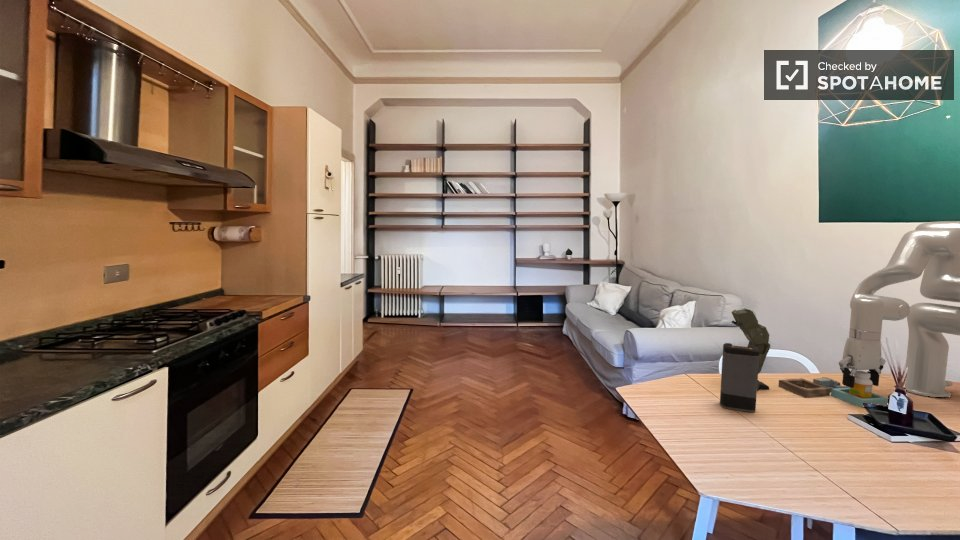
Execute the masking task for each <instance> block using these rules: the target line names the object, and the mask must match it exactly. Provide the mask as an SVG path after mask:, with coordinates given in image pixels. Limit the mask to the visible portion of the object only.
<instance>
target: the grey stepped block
mask: <svg viewBox="0 0 960 540" xmlns="http://www.w3.org/2000/svg"><path fill="white" fill-rule="evenodd" d="M812 379H813V380H812V382H813V383H816V384H819V385H821V386H824V387H837V382H838V380H836V379H832V378H829V377H826V376H822V377H820V378H812Z"/></svg>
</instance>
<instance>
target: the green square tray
mask: <svg viewBox="0 0 960 540" xmlns="http://www.w3.org/2000/svg"><path fill="white" fill-rule="evenodd" d="M849 390H850V387H848V388H834V389H831V392H830V397H833V398H836V399H839V400H841V401H844V402H846V403H848V404H852V405H854V406H856V407H859V408H862V409H864V408H863V403H872V404H879V405H887V403H888V399H889V400H890V397H889V398H888V397H886V396H883V395H879V394H877V393H874V392H872V397H871V398H866V399H862V398H859V397H857V396H854V395H851V394H849Z"/></svg>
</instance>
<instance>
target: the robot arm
mask: <svg viewBox="0 0 960 540" xmlns="http://www.w3.org/2000/svg"><path fill="white" fill-rule="evenodd" d="M921 276H922V277H921ZM919 277H921V278H922V279H921V281H920V286H919V293H920V295H921V296H922V297H924V298H926V299H930V300H933V301H934V300H935V301H942V302H950V303H960V220H952V221H951V220H944V221H938V220H937V221H929V222H923V223H919V224H918V225H917V226H916V227H915V229H913V230H909V231H907V232H906V233H904V234H903V235H902V237H901V239H900V241H899V242H898V244H897V246H896V247H895V250H894V252H893V253H892V255H891V257H890V260H889V261H888V263H887V264H886V266H885V267H883V268H882V269H879V270H877V271H875V272H873V273H872V274H870V275H869V276H867V277H865V278H864V279H863V280H862V281H861V282H860V283H859V284H858V285H857V287H856V288H855V291H853V292H854V293H853V294H852V296H851V299H850V302H849V307H850V321H849V331H848V337H847V339H846V340H845V344H844V348H843V352H842V358H841V360H839V361H838V365H839V370H840V371H841V373H842V383H841V384H842V386H848V387H851V388H854V382H855V376H854V373H855V372H856V371H866V370H867V371H866V372H868V373H870V374H871V375H870V378H869V380H871V381H872V382H873V386H875V387H879V382H880V375H881V374H882V370H883V369H884V366H885V364H886V359H884V358H883V357H882V344H881V343H882V342H881V339H882V331H883V330H882V328H883V320H885V321H891V322H892V321H893V322H894V321H895V322H896V321H901V320H904V319H905V318H906V320H907V321H906V323H907V326H908V338H907V347H906V348H907V351H906V357H905V358H906V360H905V361H906V362H905V370H906V368H907V367H908V374H907V379H906V382H905V388H906V390H907V391H906V392H909V393H910V394H915V395H918V396H922V397H923V396H924V397H928V396H930V397H931V398H935V397H949V396H950V397H951V395H952V393H951V392H950V391H948V390H947V389H946V387H952V386H953V385H954V384H953V382H952V381H951V380H946V377H947V367H948V358H949V349H950V347H949V342H948V340H947V338H946V337H945V335H943V334H949V335H953V336H954V335H955V336H960V306H955V305H949V304H942V303H932V302H917V303H914V304H912V305H909V303H908V302H907V301H905V300H904V299H901V298H897V297H889V296H884V295H875V293H877V291H880V289H883V288H885V287H887V286H891V285H894V284H900V283H903V282H908V281H912V280H915V279H918V278H919ZM850 369H851V370H850ZM930 397H929V398H930ZM950 397H949V398H950Z"/></svg>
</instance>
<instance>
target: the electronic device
mask: <svg viewBox="0 0 960 540" xmlns="http://www.w3.org/2000/svg"><path fill="white" fill-rule="evenodd" d="M758 367H759V349H758V348H757V347H755V346H751V345H748V344H747V346H743V345H742V346H740V345H733V343H730V342H728V343H727V342H726V343H724V344H723V345H722V360H721V377H720V379H721V380H720V396H719V397H720V398H719V403H720V406H721V407H722V408H724V407H725V408H724V409H727V408H729V409H728V410H733V409H735V410H734V411H739V410H740V411H739V412H746V413H754V412H756V410H757V409H756V408H757V395H758V394H757V392H758V391H757V382H758V381H759V380H758V379H759V374H758Z"/></svg>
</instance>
